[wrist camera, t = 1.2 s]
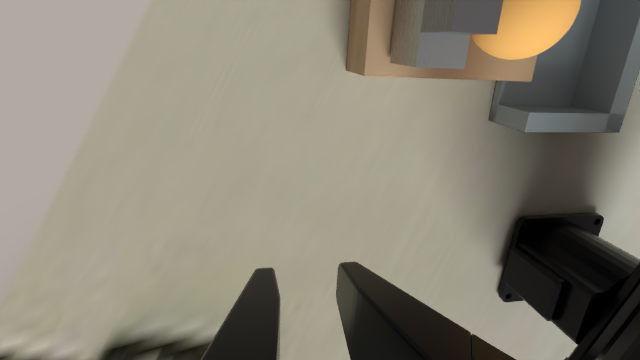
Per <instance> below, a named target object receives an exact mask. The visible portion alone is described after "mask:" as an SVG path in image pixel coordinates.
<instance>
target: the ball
mask: <svg viewBox="0 0 640 360" xmlns="http://www.w3.org/2000/svg"><path fill="white" fill-rule="evenodd" d="M580 4H581V0H503V5H502V10H501V15H500V20H499V26H498V31H497V34H488V35H471V37H472V39H473V41H474V42H475V43H476V45H478V46H479V47H480V48H481V49H482V50H483V51H485V52H486V53H488V54H490V55H492V56H494V57H497V58H501V59H508V60H516V59H524V58H529V57H532V56H535V55H537V54H539V53H542V52H544V51H545V50H547V49H549V48H550V47H552V46H553V45H554V44H556V43H557V42H558V41H559V40H560V39H561V38H562V37H563V36H564V35H565V34H566V33H567V31H568V30H569V29H570V27H571V26H572V24H573V22H574V20H575V18H576V16H577V14H578V11H579V8H580Z"/></svg>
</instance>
